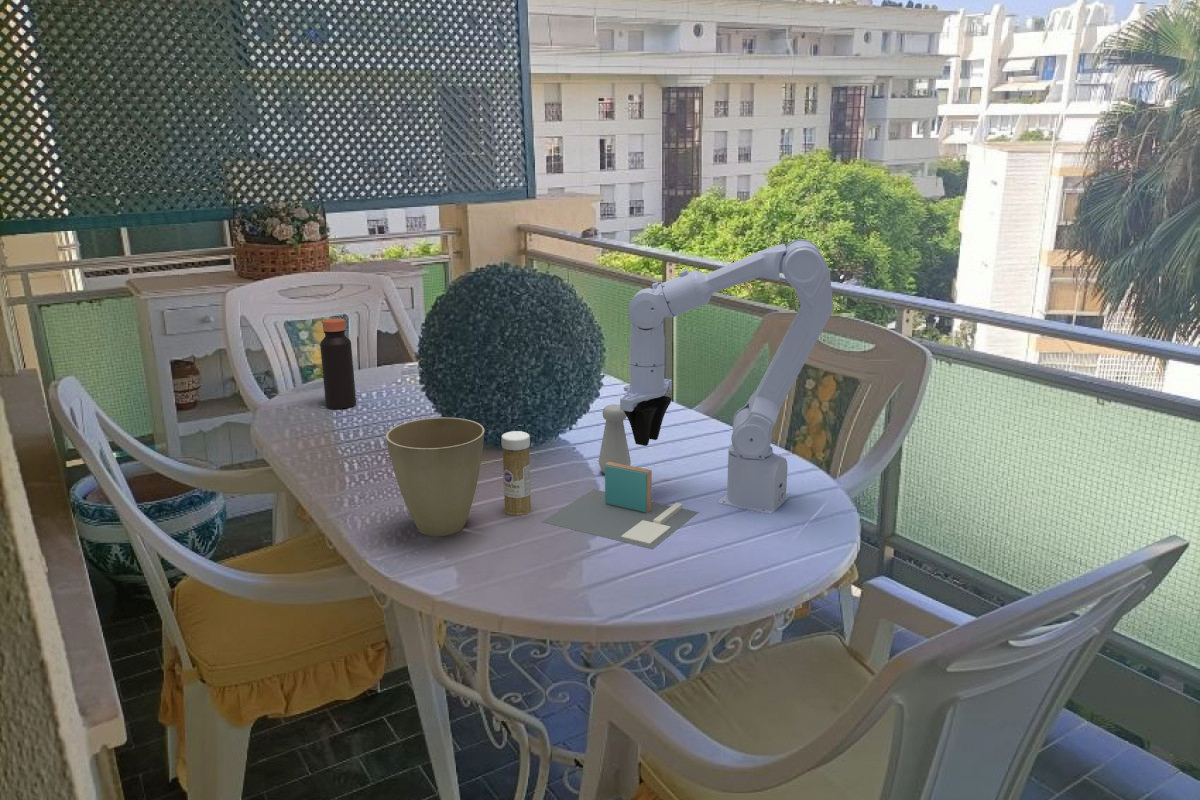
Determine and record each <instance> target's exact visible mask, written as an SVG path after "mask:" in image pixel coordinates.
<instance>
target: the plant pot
mask: <svg viewBox="0 0 1200 800" xmlns="http://www.w3.org/2000/svg"><path fill="white" fill-rule="evenodd" d="M484 438H485V428H484V426H483V425H482V424H480V423H479V422H476V421H474V420H471V419H466V418H460V417H459V418H458V417H429V418H420V419H415V420H409V421H407V422H402V423H401V424H397V425H395V426H394V427H392V428H390V429H388V431H387V432H386V434H385V441H386V444H387V448H388V453H389V457H390V461H391V465H392V467H393V472H394V475H395V479H396V481H397V482H396V483H397V484H398V488H399V491H400V493H401V495H402V498H403V500H404V502H405V505H406V508H407V510H408V512H409V514H410V516H411V519H412V521H413V522H414V525H415V527H416V528H417V530H418V532H420V534H423V535H425V536H429V537H445V536H446V537H447V536H451V535H454V534H458V533H459V532H461V531H462V530H463V529H464V527H465V526H466V523H467V520H468V518H469V514H470V511H471V507H472V504H473V501H474V497H475V494H476V490H477V485H478V481H479V476H480V469H481V464H482V457H483V447H484Z"/></svg>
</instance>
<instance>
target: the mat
mask: <svg viewBox="0 0 1200 800" xmlns="http://www.w3.org/2000/svg"><path fill="white" fill-rule="evenodd" d="M671 506H672V505H667V504H663V503H658V502H655V501H651V511H650V512H648V513H645V512H641V511H636V510H632V509H627V508H623V507H619V506H614V505H610V504H605V490H599V489H592V490H590V491H589V492H587V493H585V494H583V495H581V497H578V498H577V499H576V500H574V501H572V502H570V503H569V504H568V505H566V506H564V507H563V508H561V509H559V510H558V511H556V512H555V513H553V514H552V515H550V516H548V517H547V518H545V519H544V520H542V521H541V523H544V524H549V525H553V526H557V527H560V528H564V529H567V530H568V529H569V530H572V531H575V532H576V531H577V532H581V533H585V534H588V535H592V536H597V537H601V538H604V539H605V538H606V539H609V540H613V541H616V542H621V543H625V544H629V545H633V546H636V547H641V548H645V549H648V550H649V549H650V550H653V549H655V548H656V547H657V546H659V545H660V544H661V543H663V542H664V541H665V540H667V539H668V538H669V537H670V536H671V535H673V534H674V533H675V532H676V531H677V530H679V529H680V528H681V527H682V526H683V525H685V524H686V523H687V522H689V521H690V520H691V519H692V518H694V517H695V516H696V515H697V514H699V511H695V510H691V509H688V508H687V509H686V508H683V509H681V510H680V511H679V512H677V513H676V514H675V515H674V516H672V517H671V518H670V519H668V520H667V521H666V522H665V523H663V524H662V525H666V526H670V527H671V529H670V530H668V531H667V532H666V533H665V534H663V535H662V536H661V537H660V538H658V539H657V540H656V541H654V542H653V543H652V544H651V545H647V544H643V543H639V542H635V541H631V540H627V539H623V538H621V536H622V535H623V534H625V533H626V532H627V531H629V530H630V529H631V528H633V527H634V526H635V525H637V524H638V523H640V522H641V521H642V520H644V521H649V522H653V520H654V519H655V518H656V517H658V516H659V515H660V514H662V513H663V512H664V511H666V510H667V509H668V508H670V507H671Z"/></svg>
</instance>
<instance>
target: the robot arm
mask: <svg viewBox="0 0 1200 800" xmlns="http://www.w3.org/2000/svg"><path fill="white" fill-rule="evenodd" d="M780 274H783V276H784V278H785V279H786V281H787V283H789V285H790V286H791V287H792V288H793V290H795V293H796V296H797V299H798V302H799V304H800V306H799V308H798V310H797V312H796V313H795V316H794V318H793V319H792V322H790V326H789V327H788V329H787V330H786V333H785V335H784V336H783V339H782V340H781V342H780V344H779V346H778V348H777V350H776V352H775V353H774V356H773V358H772V359H771V361H770V364H768V367H767V369H766V371H765V373H764V375H763V377H762V379H761V380H760V382H759V384H758V386H757V388H756V389H755V391H754V392H753V393H752V394H751V395H750V397H749V399H748V401H747V403H745V405H744V406H743V407H740V408H739V409H737V411H736V412H735V413H734V415H733V418H732V423H731V424H732V433H731V437H730V438H731V444H730V445H729V446H728V453H727V455H728V458H727V486H726V487H727V488H726V493H725V495H724V496H722V497H721V498H720V499H718V501H717V504H719V505H724V506H729V507H731V508H733V507H734V508H738V509H743V510H747V511H753V512H757V513H762V514H767V515H772V514H773V513H775V511H776V510H778V509H779V508H780V506H782V505H783V504H784V503H785V501H787V500H788V496H787V488H788V487H787V484H788V461H787V459H786V457H783V456H781V455H778V454H776V453H774V449H773V447H772V446H771V445H772V431H773V429H774V427H775V425H776V423H777V420H778V417H779V413H780V410H781V407H782V406H783V404H784V402H785V400H787V399H786V398H787V397H788V395H789V393H790V391H791V390H792V387H794V384H795V382H796V380H797V378H798V377H799V375H800V372H801V371H802V369H803V367H804V365H805V363H806V361H807V360H808V358H809V356H810V355H811V352H812V350H813V348H814V347H815V345H816V343H817V341H818V339H819V338H820V336H821V334H822V332H823V330H824V328H825V326H826V325H827V323H828V320H829V319H830V317H831V315H832V313H833V311H834V300H833V292H832V291H833V290H832V280H831V270H830V268H829V266H828V264H827V261H826V259H825V257H824V256H823V254H822V253H821V252H820V249H819V248H818V246H817V245H816V244H815V243H814V242H812V241H811V240H808V239H802V238H799V239H798V238H797V239H794V240H792V241H790V242H789V243H787V244H785V243H782V244H778V245H774V246H771V247H768V248H764V249H763V250H760V251H757V252H755V253H753V254H750V255H748V256H746V257H744V258H741V259H739V260H737V261H734V262H732V263H729V264H727V265H724V266H722V267H720V268H718V269H716V270H714V271H711V272H709V273H703V272H701V271H698V270H696V269H694V270H691V271H689V270H688V269H684V270H682V271H680V272H679V276H677V277H674V278H672V279H670V280H667V281H664V282H662V283H659V281H656V282H653V283H652V285H651V287H652V288H650V287H648V288H647V287H646V288H642V289H640V290H639V291H637V292H636V293H635V294H634V296H633V297H632V298H631V300H630V302H629V304H628V306H627V307H628V308H627V313H628V317H629V320H630V329H629V330H630V335H629V384H627V385H625V386H624V387H623V391H624V392H625V394H624V395H623V397H621V398H620V399H619V403H620V404H619V405H620V410H623V411H624V412H625V414H626V416H627V417H626V419H627V420H628V423H629V425H630V427H631V431H632V436H633V439H634V443H635V445H639V446H644V447H646V446H648V445H649V443H650V440H654V441H657V440H658V439H659V435H660V431H661V427H662V425H663V424H662V423H663V420H664V417H665V414H666V413H667V410H668V408H669V406H670V405H671V402H672V397H671V396H665V395H666V394H667V393H670V392H671V391H673V380H672V379H669V378H665V367H666V366H665V363H666V362H665V360H666V359H665V357H666V356H665V353H666V351H665V348H666V336H665V333H664V331H665V330H664V329H665V328H664V327H665V326H664V322H665V321H664V319H665V318H670V319H671V318H674V317H677V316H680V315H683V314H686V313H687V312H690V311H693V310H695V309H697V308H700V307H701V308H702V307H704V306H706V305H708V304H709V303H710V301H711V298H712V295H713V294H714V293H718V292H720V291H722V290H726V289H730V288H732V287H736V286H737V285H740V284H744V283H747V282H749V281H753V280H755V279H757V278H765V279H768V280H769V279H770V280H775V281H777V282H779V281H781V279H780V278H781V276H780Z"/></svg>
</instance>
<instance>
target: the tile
mask: <svg viewBox="0 0 1200 800" xmlns="http://www.w3.org/2000/svg"><path fill="white" fill-rule="evenodd" d="M652 471H653V470H652V469H648V468H644V467H643V468H642V467H638V466H632V465H630V466H628V465H623V464H618V463H613V462H608V463H606V464H605V474H604V492H605V504H610V505H614V506H619V507H623V508H627V509H632V510H636V511H641V512H645V513H648V512H650V511H651V502H652V490H653V489H652V488H653V487H652V485H653V484H652V480H653V478H652V473H653V472H652Z"/></svg>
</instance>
